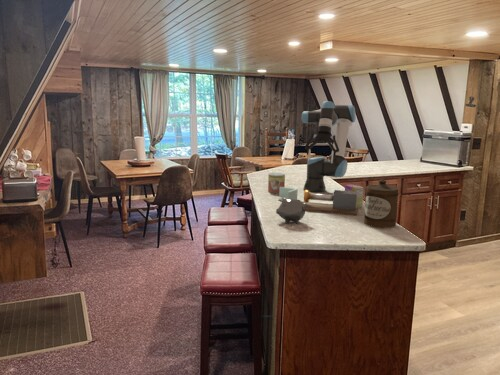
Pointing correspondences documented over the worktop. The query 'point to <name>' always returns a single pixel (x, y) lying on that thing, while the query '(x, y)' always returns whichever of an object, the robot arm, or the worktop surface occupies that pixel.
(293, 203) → the piggy bank
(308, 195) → the shaft
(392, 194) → the wooden container
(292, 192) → the l-shaped corner panel
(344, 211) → the base board
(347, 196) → the housing
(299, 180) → the worktop surface
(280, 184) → the canned food
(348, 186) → the box
